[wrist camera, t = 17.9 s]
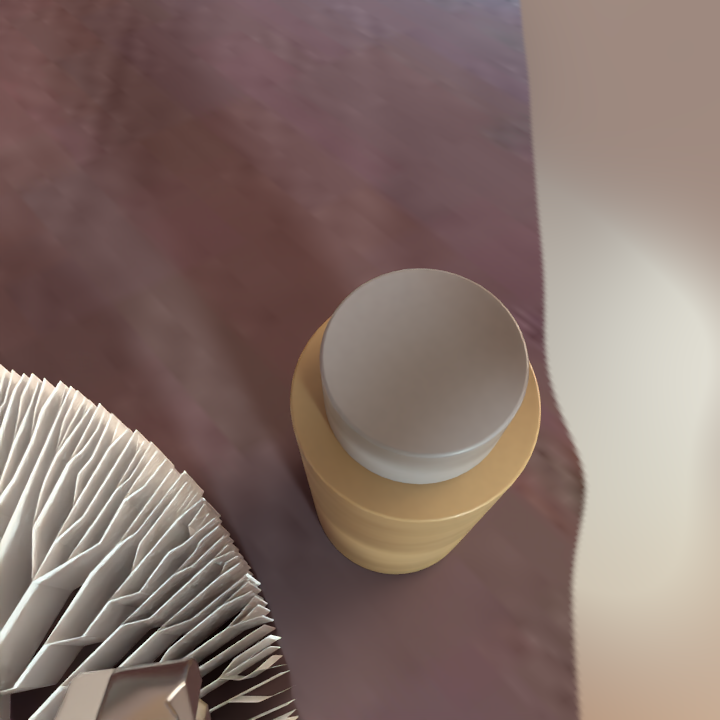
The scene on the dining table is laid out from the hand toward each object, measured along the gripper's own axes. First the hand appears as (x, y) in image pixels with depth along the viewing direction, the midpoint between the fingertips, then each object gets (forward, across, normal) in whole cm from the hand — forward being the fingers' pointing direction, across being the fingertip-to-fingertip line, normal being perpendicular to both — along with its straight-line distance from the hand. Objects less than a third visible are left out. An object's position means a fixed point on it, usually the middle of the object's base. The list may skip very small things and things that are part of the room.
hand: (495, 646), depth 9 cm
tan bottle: (+12, 0, +5) cm, 13 cm away
